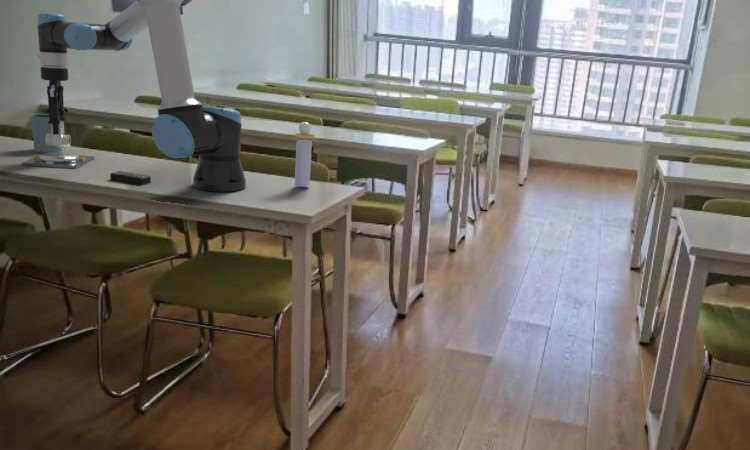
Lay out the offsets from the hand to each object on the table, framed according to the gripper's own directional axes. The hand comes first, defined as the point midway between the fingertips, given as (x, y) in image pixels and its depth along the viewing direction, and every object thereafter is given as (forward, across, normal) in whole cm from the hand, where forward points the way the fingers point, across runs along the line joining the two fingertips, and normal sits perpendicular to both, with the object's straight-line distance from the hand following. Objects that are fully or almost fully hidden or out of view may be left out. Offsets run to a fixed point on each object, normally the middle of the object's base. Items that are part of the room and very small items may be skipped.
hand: (58, 142), depth 204 cm
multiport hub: (+7, +25, +23) cm, 34 cm away
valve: (+1, 0, 0) cm, 1 cm away
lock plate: (+6, 0, 0) cm, 6 cm away
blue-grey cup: (+6, -19, -6) cm, 21 cm away
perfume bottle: (+6, +30, +72) cm, 79 cm away
